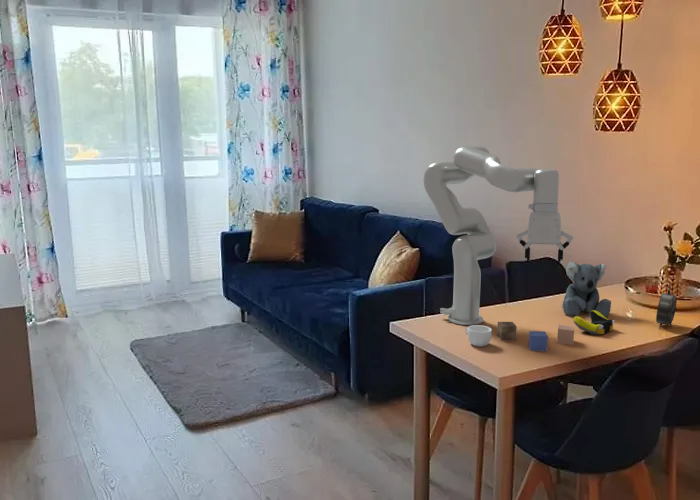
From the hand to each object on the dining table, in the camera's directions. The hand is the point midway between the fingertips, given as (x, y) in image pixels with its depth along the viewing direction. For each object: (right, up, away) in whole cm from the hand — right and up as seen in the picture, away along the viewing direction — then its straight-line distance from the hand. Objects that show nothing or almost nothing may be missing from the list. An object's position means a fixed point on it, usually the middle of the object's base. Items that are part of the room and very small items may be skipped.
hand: (543, 261), depth 212 cm
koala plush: (+27, -20, +42) cm, 54 cm away
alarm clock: (+50, -24, +23) cm, 60 cm away
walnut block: (-10, -26, +9) cm, 29 cm away
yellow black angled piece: (+23, -25, +18) cm, 38 cm away
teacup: (-21, -27, +3) cm, 35 cm away
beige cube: (+9, -27, +5) cm, 29 cm away
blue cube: (-2, -28, -1) cm, 28 cm away
